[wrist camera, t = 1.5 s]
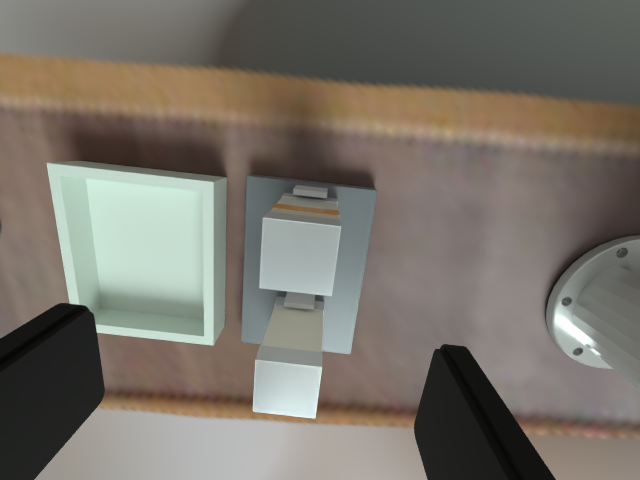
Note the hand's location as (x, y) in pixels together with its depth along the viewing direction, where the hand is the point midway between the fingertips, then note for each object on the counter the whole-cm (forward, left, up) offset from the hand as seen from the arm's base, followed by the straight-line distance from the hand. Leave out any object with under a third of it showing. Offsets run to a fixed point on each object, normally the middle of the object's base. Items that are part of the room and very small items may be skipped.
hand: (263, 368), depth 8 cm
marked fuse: (0, 0, -17) cm, 17 cm away
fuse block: (0, +5, -18) cm, 19 cm away
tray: (+13, +5, -18) cm, 22 cm away
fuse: (0, +9, -17) cm, 19 cm away
